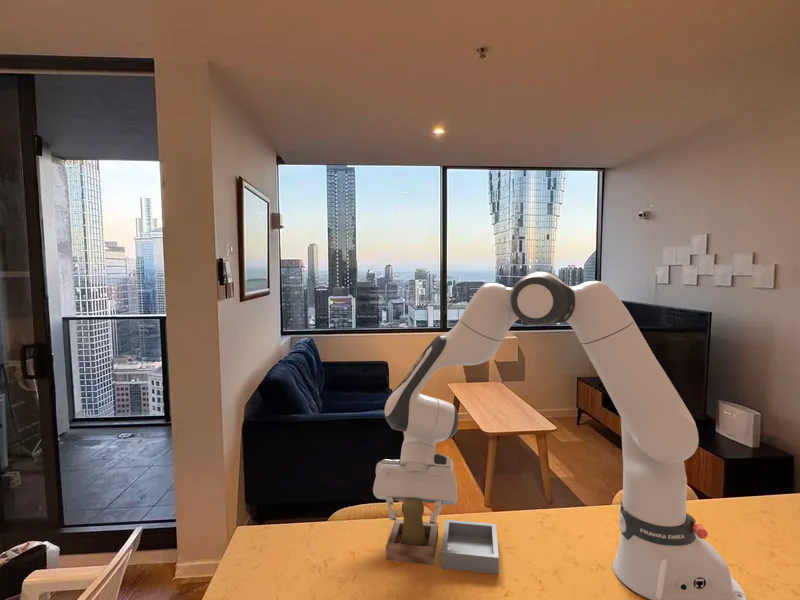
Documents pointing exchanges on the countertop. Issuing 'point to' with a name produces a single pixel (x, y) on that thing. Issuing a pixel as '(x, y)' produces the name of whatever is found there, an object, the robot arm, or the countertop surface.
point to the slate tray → (470, 547)
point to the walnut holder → (412, 551)
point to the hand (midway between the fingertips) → (412, 521)
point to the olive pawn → (413, 522)
